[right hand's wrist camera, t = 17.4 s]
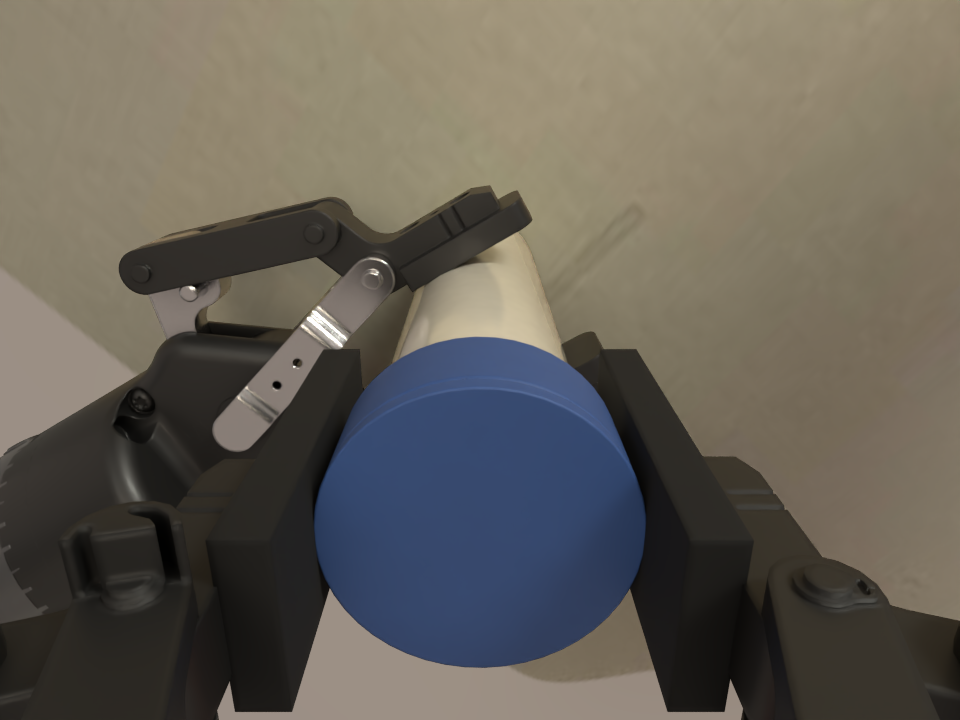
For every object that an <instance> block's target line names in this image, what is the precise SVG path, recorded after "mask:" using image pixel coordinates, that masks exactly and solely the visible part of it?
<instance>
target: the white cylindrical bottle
mask: <svg viewBox="0 0 960 720" xmlns="http://www.w3.org/2000/svg"><path fill="white" fill-rule="evenodd" d="M465 337H497V338H503V339H510V340H515V341H519V342H522V343H526V344H529V345H532V346H535V347H537V348H540V349H542V350H544V351H547V352H549V353H551V354H553V355H554V356H556V357H558V358H559V359H561V360H563V361H564V362H566V363H568V361H567V358H566V355H565V352H564V349H563V346H562V343H561V340H560V337H559V334H558V331H557V328H556V325H555V322H554V319H553V316H552V313H551V310H550V307H549V304H548V301H547V298H546V295H545V292H544V289H543V286H542V283H541V280H540V277H539V274H538V271H537V268H536V265H535V262H534V259H533V256H532V253H531V251H530V248H529V246H528V244H527V243H526V241H525V240H524V239H523V237H522V236H521V235H520V234H519V233H518V232H516V233H515V234H513V235H511V236H509V237H508V238H506V239H504V240H502V241H501V242H499V243H497V244H495V245H494V246H492V247H490V248H488V249H487V250H485V251H483V252H481V253H480V254H478V255H476V256H475V257H473V258H471V259H469V260H468V261H466V262H464V263H462V264H461V265H459V266H457V267H455V268H454V269H452V270H450V271H448V272H446V273H444V274H442V275H440V276H439V277H437V278H436V279H434V280H433V281H431V282H429V283H427V284H426V285H424V286H422V287H420V288H419V289H417V290H416V291H415V294H414V297H413V300H412V303H411V306H410V309H409V312H408V315H407V318H406V321H405V324H404V327H403V330H402V333H401V336H400V339H399V342H398V345H397V348H396V351H395V354H394V357H393V360H392V363H391V364H393V363H394V362H396V361H397V360H399V359H400V358H402V357H404V356H405V355H407V354H409V353H411V352H413V351H415V350H417V349H420V348H423V347H425V346H428V345H431V344H434V343H437V342H441V341H446V340H450V339H455V338H465Z"/></svg>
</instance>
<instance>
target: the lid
mask: <svg viewBox="0 0 960 720" xmlns="http://www.w3.org/2000/svg"><path fill="white" fill-rule="evenodd" d="M645 529H646V511H645V505H644V499H643V495H642V492H641V489H640V486H639V483H638V480H637V478H636V475H635V473H634V470H633V468H632V465H631V463H630V461H629V458H628V456H627V453H626V451H625V448H624V446H623V444H622V441H621V439H620V436H619V434H618V431H617V429H616V427H615V424H614V422H613V419H612V417H611V415H610V413H609V411H608V409H607V407H606V405H605V403H604V401H603V400H602V399H601V397H600V396H599V394H598V393H597V392H596V390H595V389H594V387H593V386H592V385H591V384H590V383H589V382H588V381H587V380H586V379H585V378H584V377H583V376H582V375H581V374H580V373H579V372H578V371H576V370H575V369H574V368H573V367H571V366H570V365H569V364H568V363H566V362H564V361H563V360H561V359H559V358H558V357H556V356H554V355H553V354H551V353H549V352H547V351H544V350H542V349H540V348H537V347H535V346H532V345H529V344H526V343H522V342H519V341H515V340H510V339H503V338H497V337H465V338H455V339H450V340H446V341H441V342H437V343H434V344H431V345H428V346H425V347H423V348H420V349H417V350H415V351H413V352H411V353H409V354H407V355H405V356H404V357H402V358H400V359H399V360H397V361H396V362H394V363H393V364H391V365H390V366H388V367H387V368H386V369H385V370H383V371H382V372H381V373H380V374H379V375H378V376H377V377H376V378H375V379H374V380H372V382H371V383H370V384H369V385H368V386H367V388H366V389H365V390H364V391H363V392H362V394H361V395H360V397H359V398H358V400H357V402H356V403H355V405H354V407H353V408H352V410H351V413H350V415H349V417H348V420H347V422H346V424H345V427H344V429H343V432H342V434H341V436H340V439H339V441H338V444H337V446H336V449H335V451H334V454H333V456H332V458H331V461H330V463H329V466H328V468H327V471H326V473H325V476H324V478H323V480H322V483H321V485H320V488H319V492H318V496H317V499H316V503H315V509H314V533H315V543H316V552H317V558H318V562H319V565H320V567H321V570H322V572H323V575H324V578H325V580H326V582H327V583H328V585H329V587H330V589H331V591H332V592H333V594H334V596H335V597H336V598H337V600H338V601H339V602H340V604H341V605H342V606H343V608H344V609H345V610H346V611H347V612H348V613H349V614H350V615H351V616H352V617H353V618H354V619H355V620H356V621H357V622H358V623H359V624H360V625H361V626H362V627H364V628H365V629H366V630H367V631H369V632H370V633H371V634H372V635H374V636H375V637H377V638H379V639H380V640H382V641H383V642H385V643H387V644H388V645H390V646H392V647H394V648H396V649H398V650H400V651H403V652H405V653H407V654H410V655H412V656H416V657H418V658H421V659H424V660H428V661H432V662H436V663H440V664H445V665H452V666H460V667H478V668H487V667H501V666H508V665H514V664H520V663H525V662H528V661H532V660H535V659H539V658H542V657H545V656H547V655H550V654H552V653H555V652H557V651H560V650H562V649H564V648H566V647H567V646H569V645H571V644H573V643H575V642H577V641H578V640H580V639H581V638H583V637H584V636H586V635H587V634H589V633H590V632H591V631H593V630H594V629H595V628H596V627H598V626H599V625H600V624H601V623H602V622H603V621H604V620H605V619H606V618H608V617H609V615H610V614H611V613H612V612H613V611H614V610H615V609H616V607H617V606H618V605H619V604H620V603H621V601H622V600H623V598H624V597H625V595H626V594H627V592H628V590H629V589H630V587H631V585H632V583H633V581H634V579H635V577H636V575H637V573H638V570H639V567H640V564H641V560H642V557H643V548H644V539H645Z"/></svg>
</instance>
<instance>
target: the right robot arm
mask: <svg viewBox="0 0 960 720" xmlns="http://www.w3.org/2000/svg"><path fill="white" fill-rule="evenodd" d="M362 392H363V390H362V376H361V361H360V349H323V351H322V352H321V354H320V356H319V357H318V359H317V361H316V362H315V364H314V365H313V367H312V369H311V370H310V372H309V373H308V375H307V377H306V378H305V380H304V382H303V383H302V385H301V386H300V388H299V390H298V391H297V393H296V395H295V396H294V398H293V399H292V401H291V403H290V404H289V406H288V407H287V409H286V411H285V412H284V414H283V416H282V417H281V419H280V420H279V422H278V424H277V425H276V427H275V429H274V430H273V432H272V433H271V435H270V437H269V438H268V440H267V441H266V443H265V445H264V446H263V448H262V450H261V451H260V453H259V454H258V456H257V458H256V459H224V460H222V461H221V462H219V463H217V464H216V465H214V466H213V467H211V468H210V469H208V470H207V471H205V472H204V473H202V474H201V475H200V476H199V478H198V479H197V480H196V482H195V483H194V484H193V486H192V487H191V488H190V490H189V491H188V492H187V497H184V498H183V499H182V501H181V502H180V503H179V505H178V506H177V507H176V509H175V508H174V507H173V506H172V505H170V504H166V503H161V502H157V501H132V502H128V503H123V504H119V505H114V506H109V507H107V508H104V509H102V510H99V511H97V512H94V513H92V514H89V515H87V516H85V517H84V518H82V519H81V520H79V521H78V522H76V523H75V524H73V525H72V526H70V527H69V528H68V529H67V530H66V531H65V532H64V533H63V535H62V536H61V537H60V538H59V539H58V540H57V542H58V545H59V549H60V553H61V557H62V560H63V564H64V568H65V572H66V575H67V579H68V583H69V586H70V590H71V594H72V598H73V600H72V603H71V605H70V607H69V608H68V609H65V610H61V611H58V612H54V613H49V614H45V615H40V616H35V617H31V618H26V619H21V620H17V621H12V622H7V623H2V624H0V720H219V718H218V713H217V709H218V707H219V705H220V702H221V700H222V698H223V695H224V693H225V691H226V688H227V686H228V684H229V681H230V685H231V691H232V697H233V703H234V708H235V712H292V710H293V707H294V703H295V700H296V697H297V693H298V690H299V687H300V684H301V681H302V677H303V674H304V670H305V667H306V664H307V661H308V658H309V654H310V651H311V648H312V644H313V641H314V638H315V635H316V631H317V628H318V625H319V621H320V618H321V615H322V612H323V608H324V605H325V602H326V599H327V595H328V592H329V589H330V587H329V585H328V583H327V582H326V580H325V578H324V575H323V572H322V570H321V567H320V565H319V562H318V558H317V552H316V543H315V533H314V509H315V503H316V499H317V496H318V492H319V488H320V485H321V483H322V480H323V478H324V476H325V473H326V471H327V468H328V466H329V463H330V461H331V458H332V456H333V454H334V451H335V449H336V446H337V444H338V441H339V439H340V436H341V434H342V432H343V429H344V427H345V424H346V422H347V420H348V417H349V415H350V413H351V410H352V408H353V407H354V405H355V403H356V402H357V400H358V398H359V397H360V395H361V394H362ZM597 393H598V394H599V396H600V397H601V399H602V400H603V401H604V403H605V405H606V407H607V409H608V411H609V413H610V415H611V417H612V419H613V422H614V424H615V427H616V429H617V431H618V434H619V436H620V439H621V441H622V444H623V446H624V448H625V451H626V453H627V456H628V458H629V461H630V463H631V465H632V468H633V470H634V473H635V475H636V478H637V480H638V483H639V486H640V489H641V492H642V495H643V499H644V505H645V511H646V529H645V539H644V548H643V557H642V560H641V564H640V567H639V570H638V573H637V575H636V577H635V579H634V581H633V583H632V585H631V587H630V590H631V593H632V597H633V600H634V603H635V606H636V610H637V613H638V616H639V620H640V623H641V626H642V629H643V633H644V636H645V639H646V642H647V646H648V649H649V652H650V656H651V659H652V662H653V665H654V669H655V672H656V675H657V678H658V682H659V685H660V688H661V692H662V695H663V698H664V702H665V705H666V708H667V711H668V712H724V711H725V706H726V700H727V694H728V689H729V683H730V679H731V681H732V684H733V686H734V688H735V691H736V693H737V695H738V698H739V700H740V702H741V705H742V707H743V713H742V718H741V720H960V621H957V620H953V619H948V618H943V617H939V616H934V615H929V614H924V613H920V612H915V611H910V610H906V609H902V608H899V607H895V606H891V605H890V604H889V601H888V599H887V597H886V596H885V595H884V593H883V592H882V591H881V589H880V588H879V586H878V585H877V584H876V583H875V582H873V581H872V580H871V579H869V578H868V577H867V576H865V575H864V574H863V573H861V572H860V571H858V570H856V569H854V568H852V567H850V566H847V565H845V564H843V563H841V562H839V561H835V560H831V559H827V558H823V557H822V556H821V555H820V553H819V552H818V551H817V549H816V548H815V547H814V545H813V544H812V543H811V541H810V540H809V539H808V537H807V536H806V535H805V533H804V532H803V531H802V529H801V528H800V526H799V525H798V524H797V522H796V521H795V520H794V518H793V517H792V516H791V514H790V513H789V512H788V510H784V505H783V504H782V502H781V501H780V500H779V498H778V497H777V496H776V494H773V490H772V489H771V487H770V486H769V485H768V483H767V482H766V481H765V479H764V478H763V477H762V475H761V474H760V473H759V472H758V471H756V470H755V469H753V468H752V467H750V466H749V465H747V464H746V463H744V462H743V461H741V460H740V459H738V458H737V457H702V455H701V454H700V452H699V450H698V449H697V447H696V445H695V444H694V442H693V441H692V439H691V437H690V436H689V434H688V432H687V431H686V429H685V428H684V426H683V424H682V423H681V421H680V420H679V418H678V416H677V415H676V413H675V411H674V410H673V408H672V407H671V405H670V403H669V402H668V400H667V398H666V397H665V395H664V394H663V392H662V390H661V389H660V387H659V386H658V384H657V382H656V381H655V379H654V377H653V376H652V374H651V373H650V371H649V369H648V368H647V366H646V364H645V363H644V361H643V360H642V358H641V356H640V355H639V353H638V351H637V350H636V349H600V355H599V370H598V385H597Z"/></svg>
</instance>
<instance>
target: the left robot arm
mask: <svg viewBox="0 0 960 720" xmlns="http://www.w3.org/2000/svg"><path fill="white" fill-rule="evenodd" d="M531 221H532V217H531V215H530V212H529V210H528V209H527V207H526V205H525V203H524V201H523V200H522V198H521V196H520V194H519V192H518V191H513V192H511V193H509V194H507V195H505V196H503V197H501V198H500V199H497V197H496V195H495V193H494V192H493V190H492V188H491V186H483V187H476V188H471V189H469V190H467V191H466V192H464V193H462V194H461V195H459V196H457V197H455V198H454V199H452V200H450V201H449V202H447V203H445V204H444V205H442V206H441V207H439V208H437V209H435V210H434V211H432V212H430V213H429V214H427V215H425V216H424V217H422V218H420V219H418V220H417V221H415V222H413V223H412V224H410V225H408V226H407V227H405V228H403V229H402V230H400V231H398V232H395V233H390V234H383V233H379V232H376V231H374V230H372V229H370V228H369V227H368V226H366V225H365V224H364V223H363V222H361V221H360V220H359V219H358V218H356V217H355V216H354V215H353V212H352V210H351V208H350V206H349V205H348V204H347V203H346V202H345V201H343V200H341V199H339V198H336V197H327V198H323V199H318V200H314V201H310V202H305V203H301V204H297V205H292V206H288V207H284V208H280V209H275V210H271V211H267V212H262V213H258V214H254V215H249V216H245V217H241V218H236V219H232V220H228V221H224V222H219V223H215V224H211V225H206V226H202V227H198V228H193V229H189V230H185V231H181V232H176V233H172V234H169V235H167V236H164V237H162V238H160V239H157V240H155V241H152V242H150V243H148V244H146V245H143V246H141V247H139V248H137V249H135V250H133V251H130V252H128V253H127V254H125V255H124V256H123V257H122V259H121V261H120V264H119V274H120V277H121V279H122V281H123V283H124V284H125V285H126V286H127V287H128V288H129V289H130V290H132V291H134V292H136V293H138V294H143V295H149V297H150V300H151V302H152V305H153V307H154V310H155V312H156V314H157V317H158V319H159V322H160V324H161V327H162V329H163V331H164V334H165V336H166V339H167V340H166V341H165V342H164V343H163V344H162V345H161V346H160V347H159V349H158V350H157V352H156V354H155V357H154V359H153V362H152V364H151V365H150V367H149V368H148V369H147V370H146V371H144V372H143V373H141V374H139V375H138V376H136V377H134V378H133V379H131V380H129V381H128V382H126V383H124V384H123V385H121V386H119V387H118V388H116V389H114V390H113V391H111V392H109V393H108V394H106V395H104V396H103V397H101V398H99V399H98V400H96V401H94V402H93V403H91V404H89V405H88V406H86V407H84V408H83V409H81V410H79V411H78V412H76V413H74V414H72V415H71V416H69V417H67V418H66V419H64V420H62V421H61V422H59V423H57V424H56V425H54V426H52V427H51V428H49V429H47V430H46V431H44V432H42V433H41V434H39V435H36V436H33V437H30V438H28V439H25V440H23V441H21V442H19V443H17V444H16V445H14V446H12V447H11V448H9V449H8V450H7V452H5V453H4V456H2V457H1V458H0V624H2V623H7V622H12V621H17V620H21V619H26V618H31V617H35V616H40V615H45V614H49V613H54V612H58V611H61V610H65V609H68V608H69V607H70V605H71V603H72V600H73V598H72V594H71V590H70V586H69V583H68V579H67V575H66V572H65V568H64V564H63V560H62V557H61V553H60V549H59V545H58V542H57V540H58V539H59V538H60V537H61V536H62V535H63V533H64V532H65V531H66V530H67V529H68V528H69V527H70V526H72V525H73V524H75V523H76V522H78V521H79V520H81V519H82V518H84V517H85V516H87V515H89V514H92V513H94V512H97V511H99V510H102V509H104V508H107V507H109V506H114V505H119V504H123V503H128V502H132V501H157V502H161V503H166V504H170V505H172V506H173V507H174V508H175V509H176V507H177V506H178V505H179V503H180V502H181V501H182V499H183V498H184V497H187V492H188V491H189V490H190V488H191V487H192V486H193V484H194V483H195V482H196V480H197V479H198V478H199V476H200V475H201V474H202V473H204V472H205V471H207V470H208V469H210V468H211V467H213V466H214V465H216V464H217V463H219V462H221V461H222V460H224V459H256V458H257V456H258V454H259V453H260V451H261V450H262V448H263V446H264V445H265V443H266V441H267V440H268V438H269V437H270V435H271V433H272V432H273V430H274V429H275V427H276V425H277V424H278V422H279V420H280V419H281V417H282V416H283V414H284V412H285V411H286V409H287V407H288V406H289V404H290V403H291V401H292V399H293V398H294V396H295V395H296V393H297V391H298V390H299V388H300V386H301V385H302V383H303V382H304V380H305V378H306V377H307V375H308V373H309V372H310V370H311V369H312V367H313V365H314V364H315V362H316V361H317V359H318V357H319V356H320V354H321V352H322V351H323V349H341V348H342V347H343V346H344V344H345V343H346V342H347V340H348V339H349V338H350V337H351V336H352V334H353V333H354V332H355V331H356V330H357V329H358V328H359V327H360V326H361V325H362V324H363V323H364V322H365V320H366V319H367V318H368V317H369V316H370V315H371V314H372V313H373V312H374V311H375V310H376V309H377V308H378V307H379V306H380V304H381V303H382V302H383V301H384V300H385V299H386V298H387V297H388V296H389V295H390V294H391V293H393V292H395V291H397V290H398V289H400V288H402V287H404V286H405V285H407V284H408V286H409V288H410V289H411V291H412V292H413V291H415V290H417V289H419V288H420V287H422V286H424V285H426V284H427V283H429V282H431V281H433V280H434V279H436V278H437V277H439V276H440V275H442V274H444V273H446V272H448V271H450V270H452V269H454V268H455V267H457V266H459V265H461V264H462V263H464V262H466V261H468V260H469V259H471V258H473V257H475V256H476V255H478V254H480V253H481V252H483V251H485V250H487V249H488V248H490V247H492V246H494V245H495V244H497V243H499V242H501V241H502V240H504V239H506V238H508V237H509V236H511V235H513V234H515V233H516V232H518V231H520V230H521V229H523V228H524V227H526V226H527V225H528V224H529V223H531ZM314 257H317V258H319V259H320V260H321V261H323V262H324V263H325V264H326V265H328V266H329V267H330V268H332V269H333V270H334V271H336V272H337V273H338V274H339V275H341V277H340V278H339V279H338V281H337V282H336V283H335V284H334V285H333V286H332V287H331V288H330V289H329V290H328V291H327V292H326V293H325V294H324V296H323V297H322V298H321V299H320V300H319V301H318V302H317V303H316V304H315V306H314V307H313V308H312V309H311V310H310V311H309V312H308V313H307V314H306V316H305V317H304V318H303V319H302V320H301V321H300V322H299V323H298V324H297V326H296V327H295V328H294V329H282V328H272V327H262V326H252V325H241V324H231V323H221V322H211V321H207V308H208V306H210V305H212V304H213V303H215V302H216V301H217V300H219V299H220V298H221V297H222V296H224V295H225V294H226V293H227V292H228V291H229V289H230V287H231V276H234V275H238V274H243V273H247V272H252V271H256V270H261V269H265V268H269V267H274V266H278V265H283V264H287V263H292V262H296V261H300V260H305V259H309V258H314ZM562 346H563V349H564V352H565V355H566V358H567V361H568V364H569V365H570V366H571V367H573V368H574V369H575V370H576V371H578V372H579V373H580V374H581V375H582V376H583V377H584V378H585V379H586V380H587V381H588V382H589V383H590V384H591V385H592V386H593V387H594V389H595V390H596V392H597V385H598V370H599V355H600V349H603V347H602V345H601V343H600V342H599V340H598V338H597V336H596V334H595V333H594V332H586V333H583V334H581V335H579V336H577V337H575V338H573V339H571V340H569V341H567V342H565V343H563V344H562ZM362 390H363V391H364V390H365V389H364V388H362Z"/></svg>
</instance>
